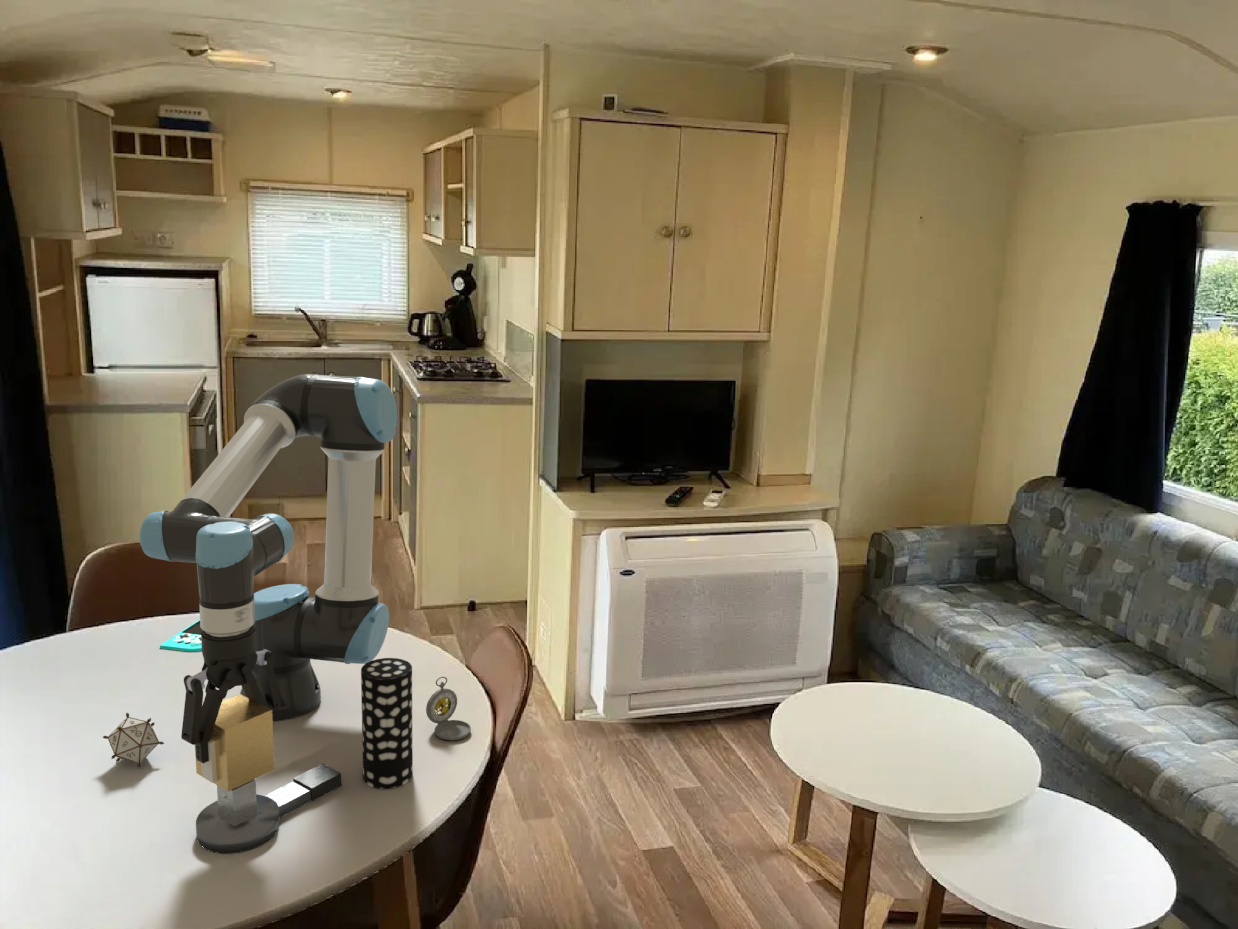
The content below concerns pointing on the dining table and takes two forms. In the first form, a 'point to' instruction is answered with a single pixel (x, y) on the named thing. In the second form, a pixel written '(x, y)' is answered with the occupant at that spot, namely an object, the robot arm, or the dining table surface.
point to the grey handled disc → (258, 811)
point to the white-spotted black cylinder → (387, 722)
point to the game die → (133, 740)
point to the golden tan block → (241, 742)
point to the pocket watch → (446, 714)
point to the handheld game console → (186, 639)
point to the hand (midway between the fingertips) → (235, 766)
